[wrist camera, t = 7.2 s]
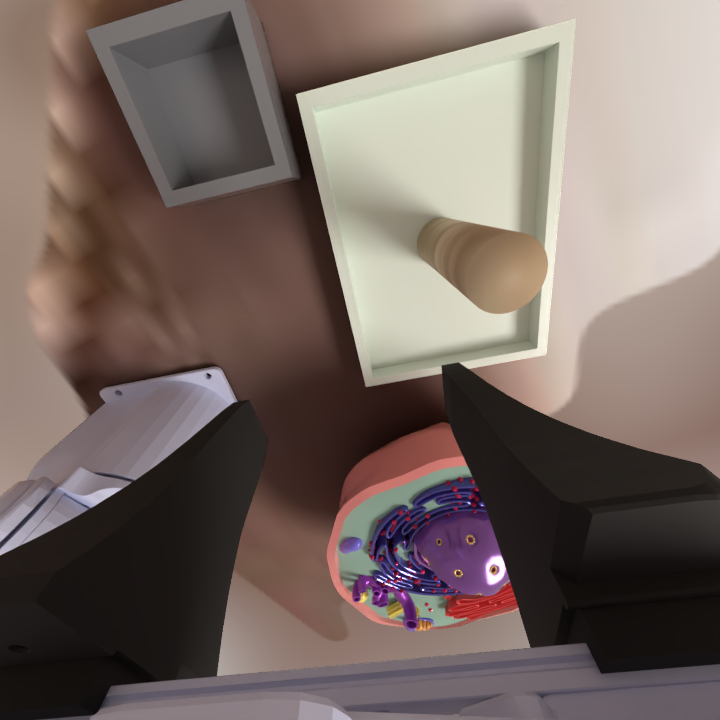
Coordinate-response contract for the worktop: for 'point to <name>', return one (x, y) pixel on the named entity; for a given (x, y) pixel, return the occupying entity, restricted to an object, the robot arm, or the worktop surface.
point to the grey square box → (200, 98)
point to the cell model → (417, 538)
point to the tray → (441, 193)
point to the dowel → (485, 262)
